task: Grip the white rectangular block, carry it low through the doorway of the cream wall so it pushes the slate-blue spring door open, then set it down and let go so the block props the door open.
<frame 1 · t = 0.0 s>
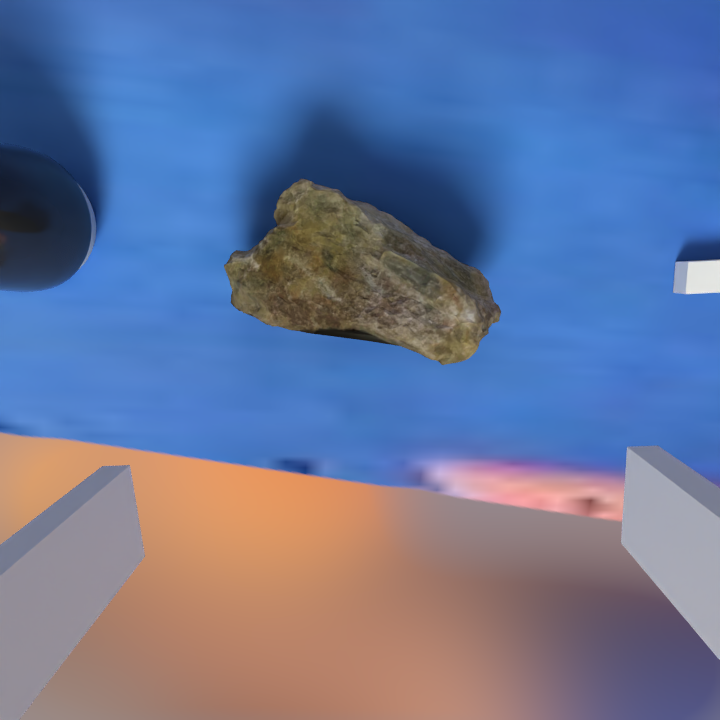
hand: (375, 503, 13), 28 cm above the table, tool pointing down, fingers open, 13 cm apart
dark rounded piece: (58, 224, 40), on the table
rock: (369, 271, 40), on the table
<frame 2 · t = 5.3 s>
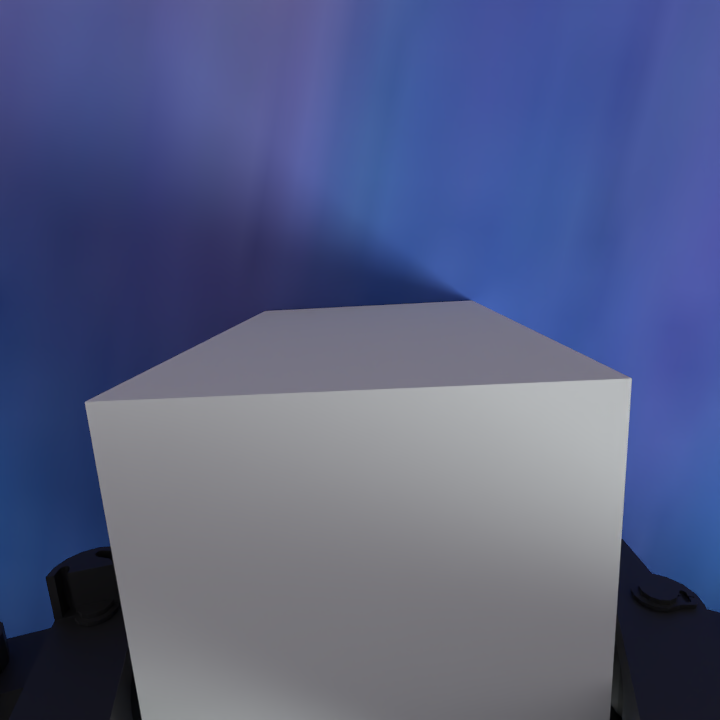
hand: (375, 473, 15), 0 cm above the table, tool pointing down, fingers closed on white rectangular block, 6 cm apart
white rectangular block: (375, 466, 15), on the table, touching gripper
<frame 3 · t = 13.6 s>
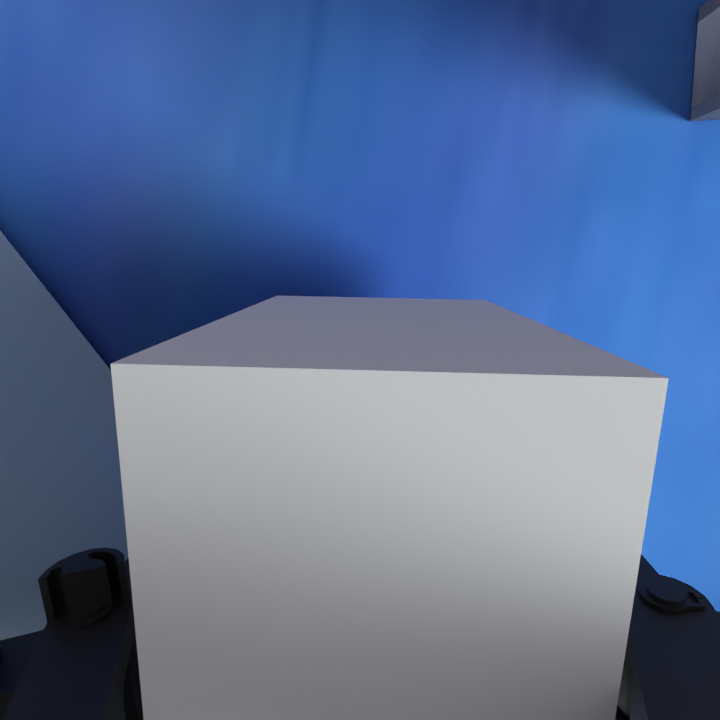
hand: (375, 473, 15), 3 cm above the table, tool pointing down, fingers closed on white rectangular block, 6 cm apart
wall: (265, 96, 16), on the table
white rectangular block: (376, 459, 15), point 3 cm above the table, touching gripper
when the fingers open (2 cm above the table, at t = 15.5 s): white rectangular block drops 2 cm, on the table.
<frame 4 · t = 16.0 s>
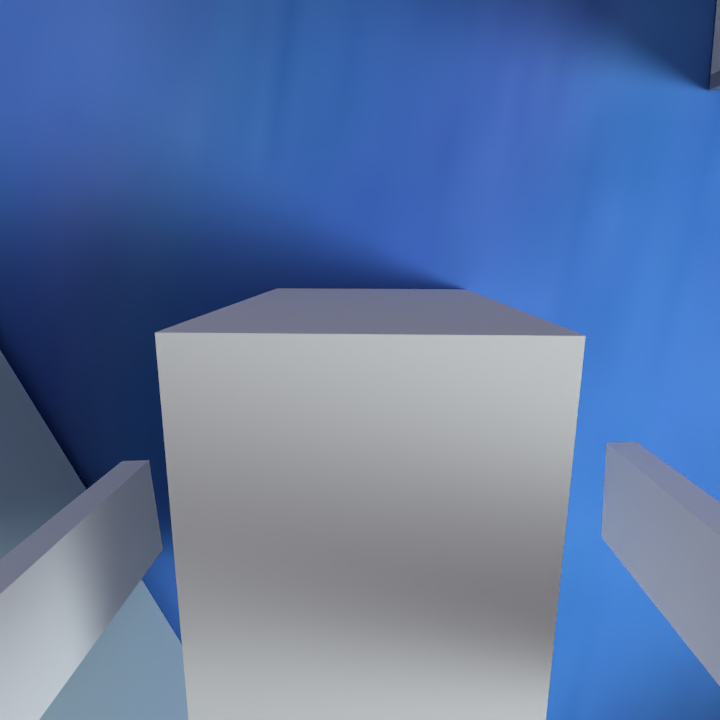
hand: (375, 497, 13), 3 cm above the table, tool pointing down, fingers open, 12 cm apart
wall: (238, 62, 14), on the table
white rectangular block: (369, 436, 17), on the table
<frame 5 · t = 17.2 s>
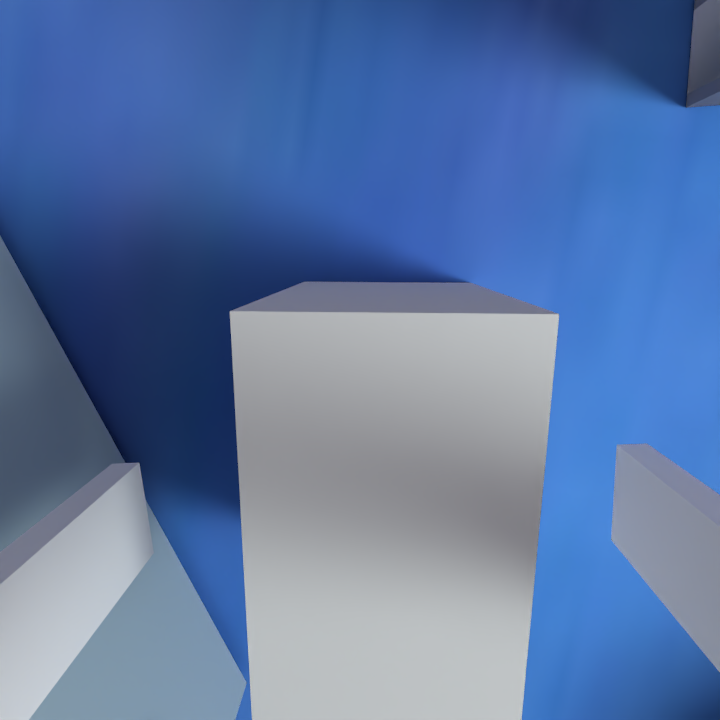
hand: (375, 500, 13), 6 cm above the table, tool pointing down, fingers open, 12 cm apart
wall: (273, 84, 16), on the table
white rectangular block: (384, 413, 19), on the table
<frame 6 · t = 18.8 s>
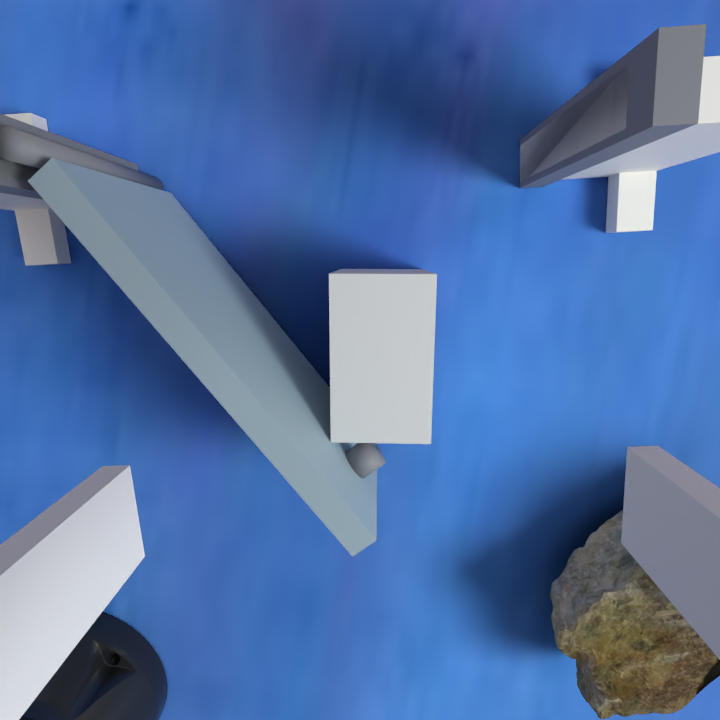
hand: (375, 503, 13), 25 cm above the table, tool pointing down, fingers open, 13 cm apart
wall: (327, 176, 35), on the table
rock: (617, 550, 40), on the table
white rectangular block: (380, 336, 37), on the table, touching door
door: (247, 328, 30), point 7 cm above the table, hinge at 55.0°, touching white rectangular block
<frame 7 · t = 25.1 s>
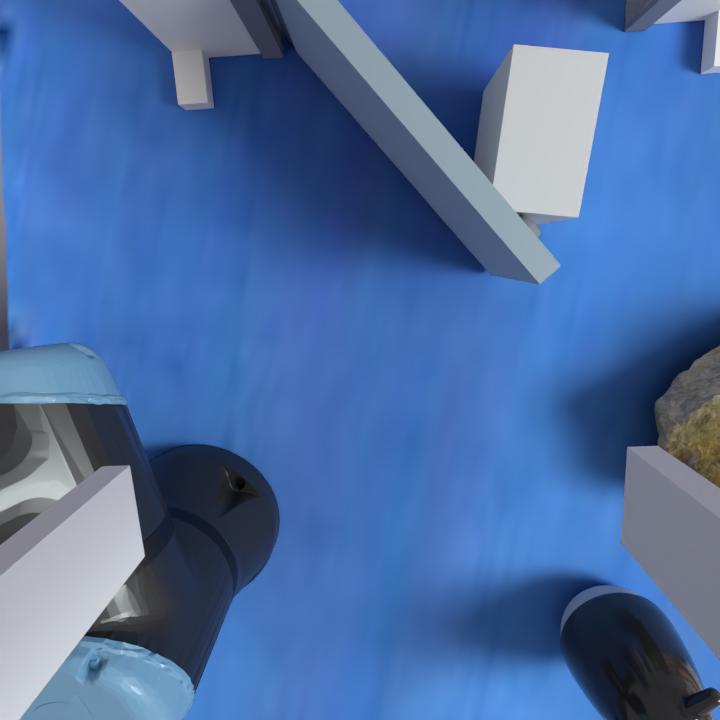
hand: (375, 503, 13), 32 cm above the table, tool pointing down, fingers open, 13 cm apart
dark rounded piece: (597, 609, 49), on the table
wall: (450, 22, 39), on the table
rock: (708, 390, 44), on the table
white rectangular block: (510, 159, 41), on the table, touching door
door: (409, 123, 34), point 7 cm above the table, hinge at 50.1°, touching white rectangular block
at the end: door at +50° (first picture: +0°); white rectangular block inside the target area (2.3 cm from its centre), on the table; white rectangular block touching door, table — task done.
